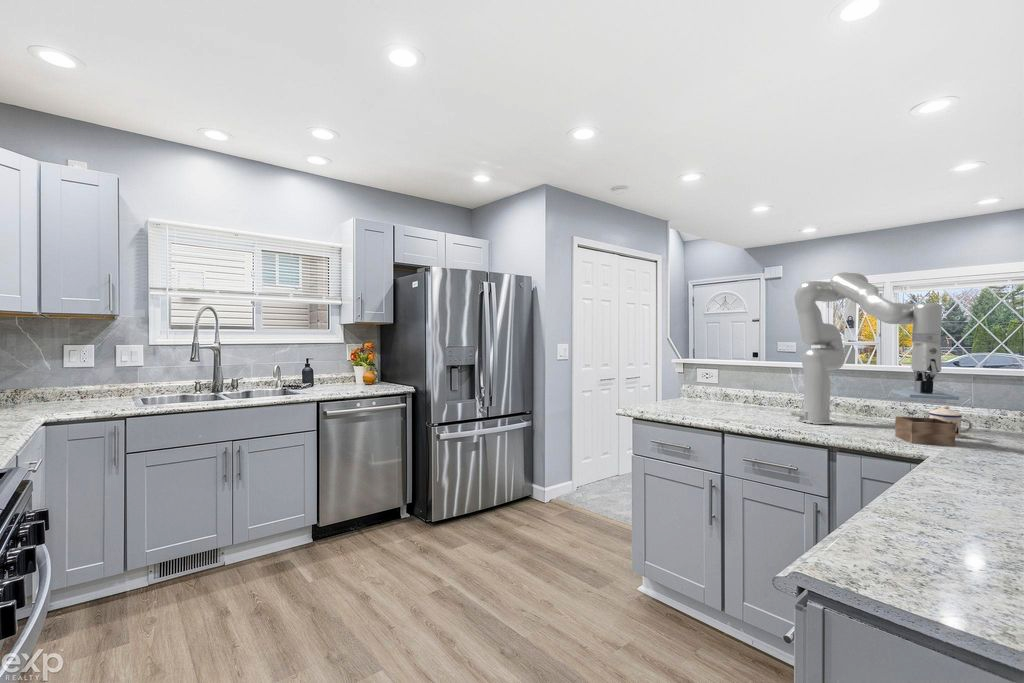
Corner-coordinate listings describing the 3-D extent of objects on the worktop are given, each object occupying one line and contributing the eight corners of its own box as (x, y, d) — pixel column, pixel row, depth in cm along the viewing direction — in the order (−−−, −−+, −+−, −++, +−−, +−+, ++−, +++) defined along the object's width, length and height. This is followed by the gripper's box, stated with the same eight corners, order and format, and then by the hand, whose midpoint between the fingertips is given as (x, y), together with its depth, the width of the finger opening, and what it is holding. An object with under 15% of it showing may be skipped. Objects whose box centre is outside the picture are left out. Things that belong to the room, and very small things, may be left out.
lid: (909, 397, 163) (910, 382, 162) (891, 392, 176) (891, 378, 175) (958, 400, 159) (959, 384, 158) (936, 394, 172) (937, 380, 171)
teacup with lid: (930, 438, 175) (931, 406, 175) (925, 433, 183) (926, 403, 183) (975, 442, 169) (976, 409, 169) (968, 437, 177) (969, 406, 177)
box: (911, 445, 163) (912, 422, 163) (895, 438, 174) (895, 416, 174) (954, 448, 159) (955, 424, 159) (935, 440, 171) (935, 418, 171)
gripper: (953, 340, 157) (950, 395, 158) (926, 338, 173) (924, 389, 174) (925, 339, 160) (922, 394, 160) (901, 338, 175) (899, 388, 176)
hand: (923, 391), depth 167 cm, fingers closed on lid, 3 cm apart
